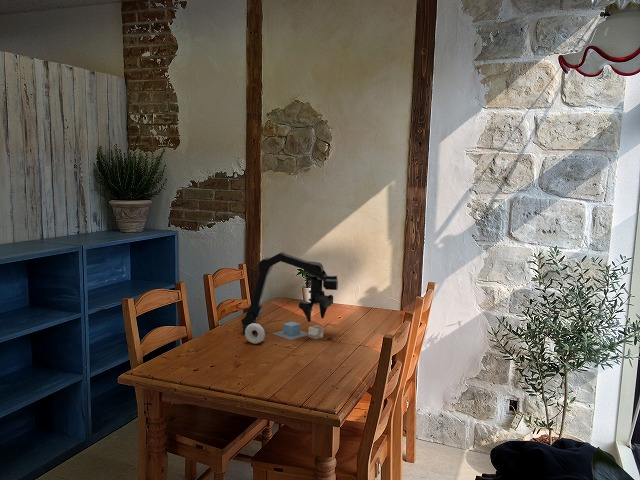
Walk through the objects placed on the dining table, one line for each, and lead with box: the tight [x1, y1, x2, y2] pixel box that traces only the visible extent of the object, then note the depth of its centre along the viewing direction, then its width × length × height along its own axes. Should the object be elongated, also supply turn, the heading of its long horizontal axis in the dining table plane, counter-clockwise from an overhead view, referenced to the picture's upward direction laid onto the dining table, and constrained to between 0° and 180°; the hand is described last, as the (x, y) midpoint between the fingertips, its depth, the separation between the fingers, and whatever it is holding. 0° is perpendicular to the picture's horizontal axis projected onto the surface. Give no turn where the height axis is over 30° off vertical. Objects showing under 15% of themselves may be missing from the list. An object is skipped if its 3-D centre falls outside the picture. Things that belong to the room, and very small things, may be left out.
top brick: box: [308, 324, 324, 340], centre depth 257 cm, size 5×5×6 cm
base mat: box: [271, 329, 309, 341], centre depth 262 cm, size 14×14×1 cm
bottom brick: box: [282, 321, 301, 336], centre depth 261 cm, size 6×6×5 cm
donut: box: [244, 322, 266, 345], centre depth 248 cm, size 10×3×10 cm, turn 73°
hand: (315, 320), depth 256 cm, fingers open, 9 cm apart
